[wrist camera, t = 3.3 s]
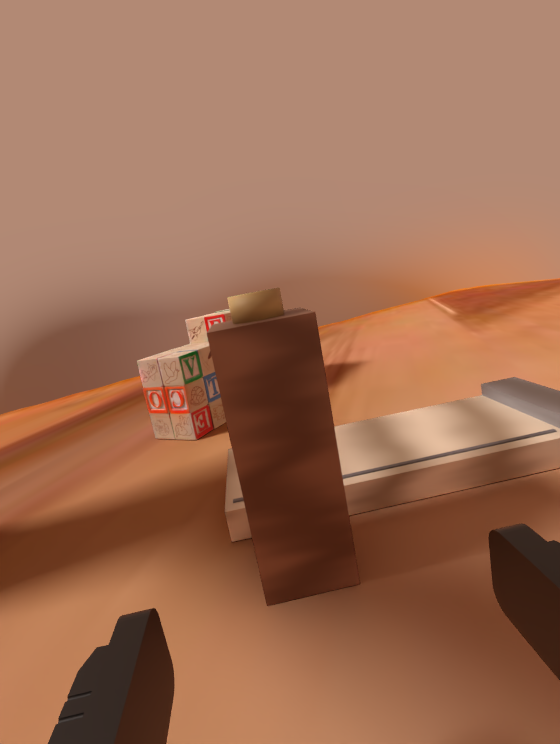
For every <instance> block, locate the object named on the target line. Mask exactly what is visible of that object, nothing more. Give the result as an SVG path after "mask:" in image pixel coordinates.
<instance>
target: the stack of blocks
mask: <svg viewBox="0 0 560 744" xmlns="http://www.w3.org/2000/svg"><path fill="white" fill-rule="evenodd" d="M185 321H186V325H187V330H188V335H189V340H190V344H188V345H185V346H183V347H179V348H175V349H172V350H169V351H166V352H162V353H159V354H157V355H153V356H150V357H147V358H144V359H141V360H138V361H137V364H138V368H139V372H140V376H141V381H142V384H143V387H144V388H143V392H144V396H145V400H146V404H147V407H148V411H149V413H150V418H151V422H152V426H153V429H154V433H155V437H156V438H157V439H178V440H179V439H180V440H197V439H199V438H200V437H202V436H204V435H205V434H207V433H208V432H210V431H211V430H213V429H215V428H217V427H219V426H220V425H222V424H224V423H225V422H226V418H225V414H224V409H223V405H222V400H221V396H220V391H219V387H218V382H217V378H216V373H215V369H214V364H213V360H212V355H211V351H210V346H209V342H208V337H207V332H208V330H209V329H210V328H211V326H212V325H213V324H217V323H222V322H227V321H232V317H231V313H230V309H226V310H222V311H217V312H215V313H213V314H208V315H205V316H201V317H196V318H192V319H187V320H185Z"/></svg>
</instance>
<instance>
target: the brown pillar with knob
mask: <svg viewBox="0 0 560 744" xmlns="http://www.w3.org/2000/svg"><path fill="white" fill-rule="evenodd" d="M228 303H229V308H230V313H231V317H232V321H227V322H222V323H217V324H213V325H212V326H211V328H210V329H209V330H208V332H207V337H208V342H209V346H210V351H211V355H212V360H213V364H214V369H215V373H216V378H217V382H218V387H219V391H220V396H221V400H222V405H223V409H224V414H225V418H226V423H227V428H228V432H229V437H230V441H231V446H232V450H233V455H234V459H235V464H236V468H237V473H238V477H239V482H240V486H241V491H242V495H243V500H244V504H245V509H246V513H247V518H248V522H249V527H250V531H251V536H252V540H253V545H254V549H255V554H256V558H257V563H258V567H259V572H260V576H261V581H262V585H263V590H264V594H265V599H266V603H267V606H269V605H273V604H277V603H281V602H286V601H290V600H294V599H298V598H303V597H307V596H311V595H315V594H319V593H324V592H328V591H332V590H336V589H341V588H345V587H349V586H353V585H358V584H360V580H359V574H358V568H357V562H356V556H355V550H354V544H353V538H352V531H351V525H350V519H349V513H348V507H347V501H346V495H345V489H344V483H343V477H342V471H341V465H340V459H339V453H338V447H337V441H336V435H335V429H334V423H333V417H332V411H331V404H330V398H329V392H328V386H327V380H326V374H325V368H324V362H323V356H322V350H321V344H320V338H319V332H318V326H317V320H316V314H315V312H314V311H310V310H306V309H303V308H294V309H289V310H283V304H282V299H281V294H280V288H274V289H268V290H263V291H258V292H252V293H247V294H242V295H237V296H232V297H228Z"/></svg>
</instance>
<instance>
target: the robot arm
mask: <svg viewBox="0 0 560 744" xmlns="http://www.w3.org/2000/svg"><path fill="white" fill-rule="evenodd" d="M489 548H490V560H491V571H492V582H493V589H494V592H495V596H496V598H497V601H498V603H499V605H500V607H501V609H502V610H503V612H504V613H505V615H506V616H507V617H508V618H509V620H510V621H511V622H512V623H513V625H514V626H515V627H516V628H517V629H518V631H519V632H520V633H521V634H522V635H523V637H524V638H525V639H526V640H527V641H528V643H529V644H530V645H531V646H532V647H533V649H534V650H535V651H536V652H537V654H538V655H539V656H540V657H541V658H542V660H543V661H544V662H545V663H546V664H547V666H548V667H549V668H550V669H551V670H552V672H553V673H554V674H555V675H556V676H557V678H558V679H559V680H560V543H559V542H557V541H554V540H553V541H549V542H547V541H546V540H544V539H543V538H542V537H541V536H539V535H538V534H537V533H536V532H535V531H533V530H532V529H531V528H530V527H528V526H527V525H525V524H517V525H513V526H508V527H504V528H500V529H495V530H492V531H490V533H489ZM173 697H174V670H173V664H172V660H171V656H170V653H169V650H168V646H167V643H166V639H165V636H164V632H163V629H162V625H161V622H160V618H159V615H158V612H157V611H156V609H155V608H152V609H148V610H144V611H139V612H135V613H131V614H127V615H122V616H120V617H119V619H118V621H117V624H116V626H115V629H114V632H113V635H112V637H111V640H110V643H109V645H106V646H101V647H97V648H96V649H95V650H94V652H93V653H92V654H91V656H90V657H89V658H88V659H87V661H86V662H85V663H84V664H83V666H82V667H81V668H80V670H79V671H78V673H77V675H76V678H75V680H74V682H73V685H72V687H71V690H70V692H69V694H68V701H67V702H65V704H64V706H63V709H62V711H61V714H60V716H59V718H58V719H59V722H58V724H56V725H55V728H54V730H53V733H52V735H51V737H50V740H49V742H48V744H166V742H167V735H168V729H169V723H170V716H171V710H172V703H173Z"/></svg>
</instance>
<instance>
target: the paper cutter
mask: <svg viewBox="0 0 560 744" xmlns="http://www.w3.org/2000/svg"><path fill="white" fill-rule="evenodd" d="M481 388H482V395H481V396H476V397H471V398H467V399H462V400H457V401H453V402H448V403H443V404H438V405H434V406H429V407H424V408H420V409H415V410H410V411H405V412H401V413H396V414H391V415H387V416H382V417H377V418H372V419H368V420H363V421H358V422H354V423H349V424H344V425H339V426H335V427H334V429H335V435H336V441H337V447H338V453H339V459H340V465H341V471H342V477H343V483H344V489H345V495H346V501H347V507H348V513H349V515H353V514H358V513H362V512H367V511H371V510H376V509H380V508H384V507H389V506H393V505H398V504H402V503H407V502H411V501H415V500H420V499H424V498H429V497H433V496H438V495H442V494H446V493H451V492H455V491H460V490H464V489H468V488H473V487H477V486H482V485H486V484H491V483H495V482H499V481H504V480H508V479H513V478H517V477H522V476H526V475H530V474H535V473H539V472H544V471H548V470H553V469H557V468H560V391H558V390H554V389H551V388H548V387H545V386H542V385H538V384H535V383H532V382H529V381H526V380H522V379H519V378H516V377H512V378H508V379H503V380H498V381H493V382H489V383H484V384H481ZM225 516H226V520H227V524H228V529H229V533H230V537H231V541H232V542H234V541H238V540H243V539H247V538H252V536H251V531H250V527H249V522H248V518H247V513H246V509H245V504H244V500H243V495H242V491H241V486H240V482H239V477H238V473H237V468H236V464H235V459H234V455H233V450H232V448H231V449H228V463H227V480H226V498H225Z"/></svg>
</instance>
